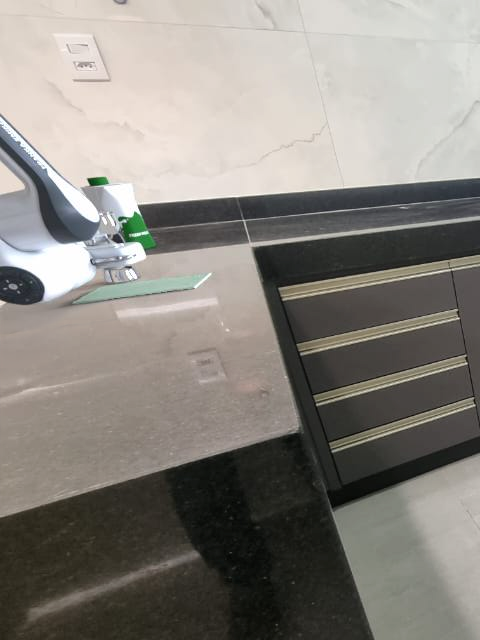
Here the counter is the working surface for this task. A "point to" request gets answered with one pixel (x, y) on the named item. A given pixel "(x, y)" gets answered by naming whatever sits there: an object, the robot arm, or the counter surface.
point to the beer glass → (112, 235)
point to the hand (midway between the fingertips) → (94, 251)
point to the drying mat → (143, 288)
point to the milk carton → (119, 208)
